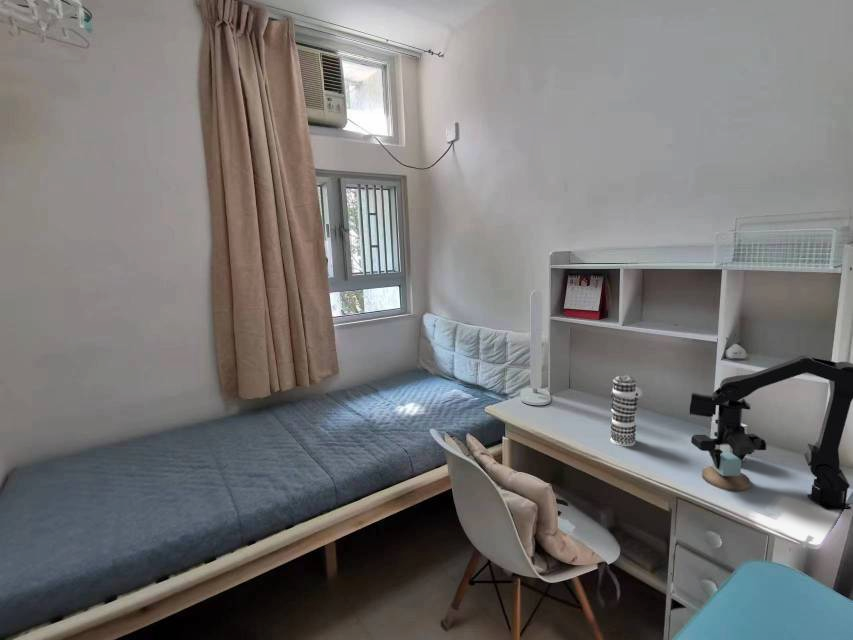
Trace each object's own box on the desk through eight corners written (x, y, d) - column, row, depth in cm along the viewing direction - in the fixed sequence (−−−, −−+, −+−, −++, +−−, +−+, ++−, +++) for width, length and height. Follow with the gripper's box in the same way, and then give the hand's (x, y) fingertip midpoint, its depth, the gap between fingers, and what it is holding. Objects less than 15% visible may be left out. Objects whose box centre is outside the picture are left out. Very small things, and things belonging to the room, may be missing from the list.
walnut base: (733, 470, 135) (733, 465, 135) (759, 491, 124) (760, 486, 123) (694, 470, 136) (694, 466, 136) (716, 491, 124) (717, 486, 124)
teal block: (729, 467, 132) (730, 452, 131) (740, 475, 127) (741, 460, 126) (712, 467, 132) (713, 452, 131) (722, 475, 127) (723, 460, 126)
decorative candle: (617, 433, 165) (619, 372, 161) (641, 441, 158) (643, 377, 154) (604, 440, 160) (605, 377, 156) (628, 449, 153) (630, 382, 149)
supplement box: (729, 465, 139) (731, 428, 137) (708, 455, 146) (710, 420, 144) (746, 461, 141) (748, 425, 139) (724, 451, 148) (727, 417, 146)
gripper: (713, 431, 120) (710, 482, 122) (782, 430, 118) (778, 482, 121) (691, 416, 131) (689, 463, 133) (755, 415, 129) (751, 463, 132)
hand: (726, 468), depth 129 cm, fingers closed on teal block, 5 cm apart
